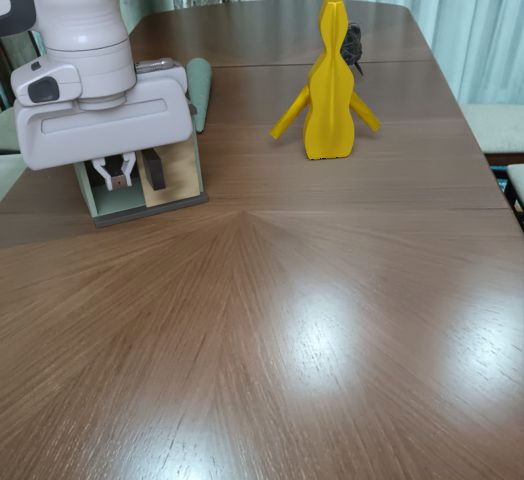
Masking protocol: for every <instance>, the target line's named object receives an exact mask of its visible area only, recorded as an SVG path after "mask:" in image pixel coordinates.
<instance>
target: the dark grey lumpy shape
mask: <svg viewBox="0 0 524 480" xmlns="http://www.w3.org/2000/svg"><path fill="white" fill-rule="evenodd" d="M360 25H361V22H360V23H357V22H355V21H353V20H348V29H347V33H346V35H345V38H344V40H343V43H342V45H341V48H340V55H341V56H342V58H343V59H344V61H345V62H346V64H347V65H348V67H349V66H353V65H354V66H355V69H356V70H357V72H358V73H359V74H360V75H361V76H362V77H365V74H364V71H363V70H362V68H361V65H360V64H359V61H360V59H361V58H362V55H363V45H362V41H361V39H362V32H361V27H360Z"/></svg>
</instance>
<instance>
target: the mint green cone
mask: <svg viewBox="0 0 524 480" xmlns="http://www.w3.org/2000/svg"><path fill="white" fill-rule="evenodd" d="M185 71H186V75H187V84H188V87H187V93H188V99H189V101H190V102H191V103H192V104H193V105H194V106H195V107H196V108H197V114H196V115H194V122H195V130H196V132H197V131H202V130H203V131H204V129H205V124H206V119H205V118H207V112H208V106H209V100H210V93H211V85H212V77H213V70H212V67H211V64H210V63H209V62H208V61H207V60H206V59H204V58H202V57H194V58H192V59H190V60H189V61H188V62H187V65H186V66H185Z"/></svg>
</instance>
